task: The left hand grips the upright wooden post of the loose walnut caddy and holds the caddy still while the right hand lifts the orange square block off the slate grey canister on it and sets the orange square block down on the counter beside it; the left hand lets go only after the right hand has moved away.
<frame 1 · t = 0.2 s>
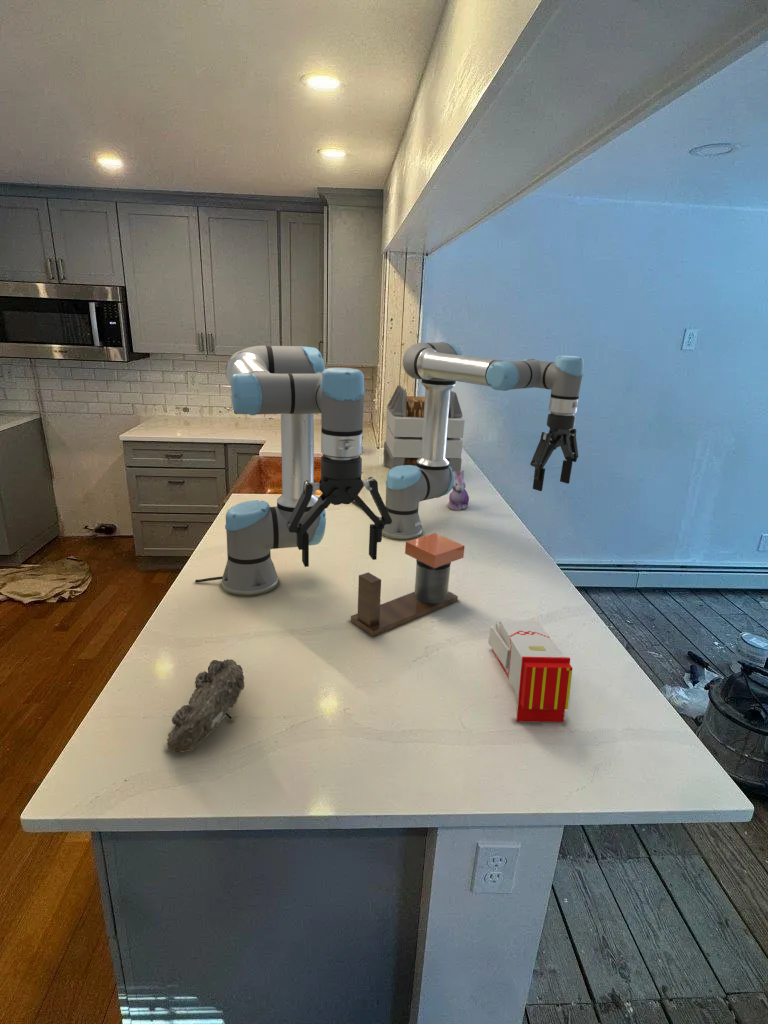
left hand: (339, 560, 111), 28 cm above the counter, fingers open, 13 cm apart
right hand: (551, 486, 165), 28 cm above the counter, fingers open, 13 cm apart
caddy: (406, 610, 149), on the counter, touching orange square block
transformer: (419, 473, 275), on the counter
toy: (521, 679, 123), on the counter
figurine: (458, 507, 230), on the counter
figurine character: (356, 451, 311), on the counter
orange square block: (433, 561, 151), point 12 cm above the counter, touching caddy
fossil: (212, 717, 108), on the counter
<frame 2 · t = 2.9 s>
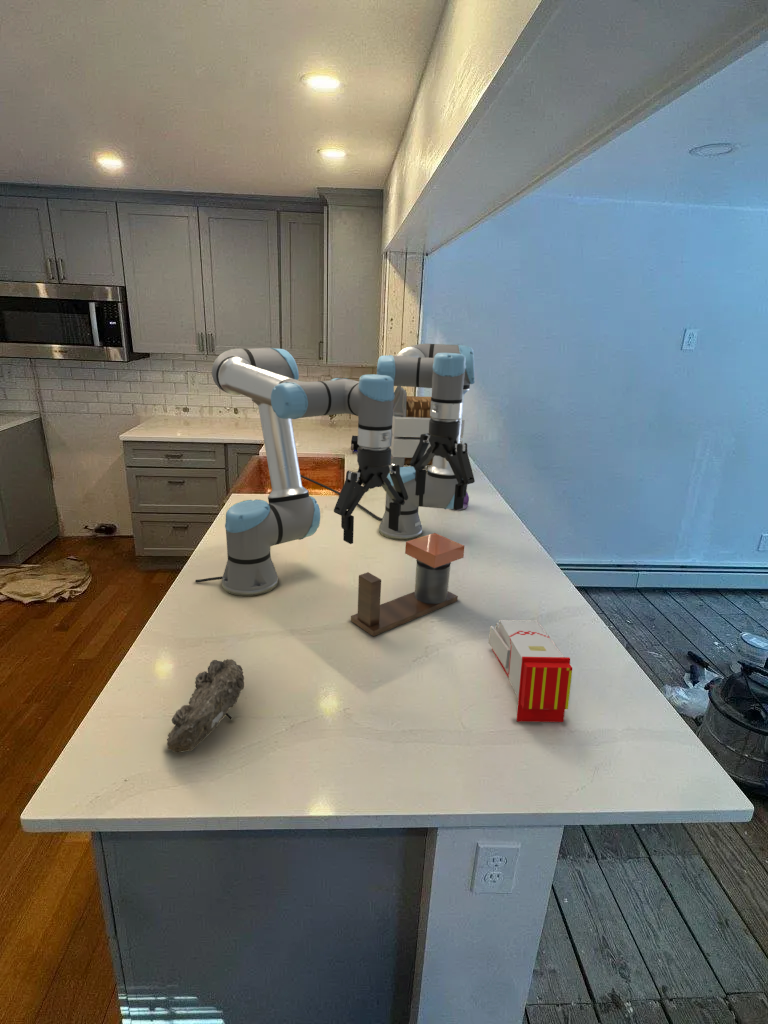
left hand: (371, 535, 133), 24 cm above the counter, fingers open, 13 cm apart
right hand: (438, 501, 145), 29 cm above the counter, fingers open, 13 cm apart
nothing on the counter moved.
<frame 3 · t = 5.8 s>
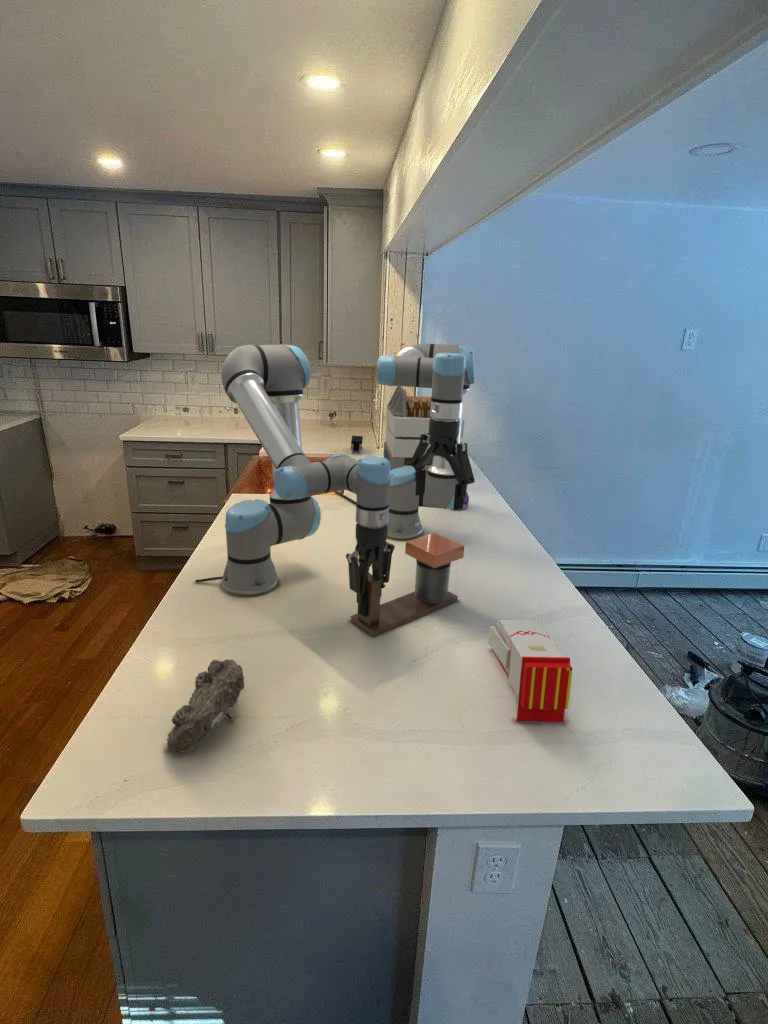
left hand: (368, 612, 140), 4 cm above the counter, fingers closed on caddy, 3 cm apart
right hand: (438, 501, 145), 29 cm above the counter, fingers open, 13 cm apart
caddy: (406, 610, 149), on the counter, touching orange square block, left hand
everything else where it was.
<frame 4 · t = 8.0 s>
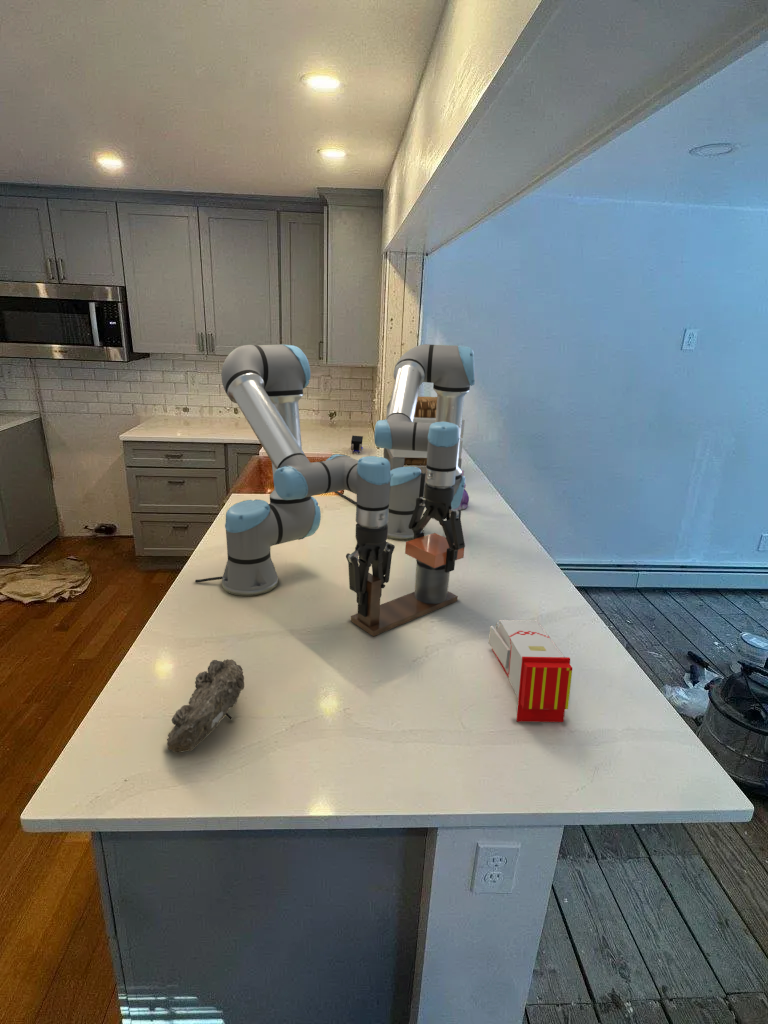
left hand: (368, 612, 140), 4 cm above the counter, fingers closed on caddy, 3 cm apart
right hand: (433, 563, 151), 11 cm above the counter, fingers closed on orange square block, 11 cm apart
caddy: (406, 610, 149), on the counter, touching orange square block, left hand
orange square block: (433, 561, 151), point 12 cm above the counter, touching caddy, right hand
everything else where it was.
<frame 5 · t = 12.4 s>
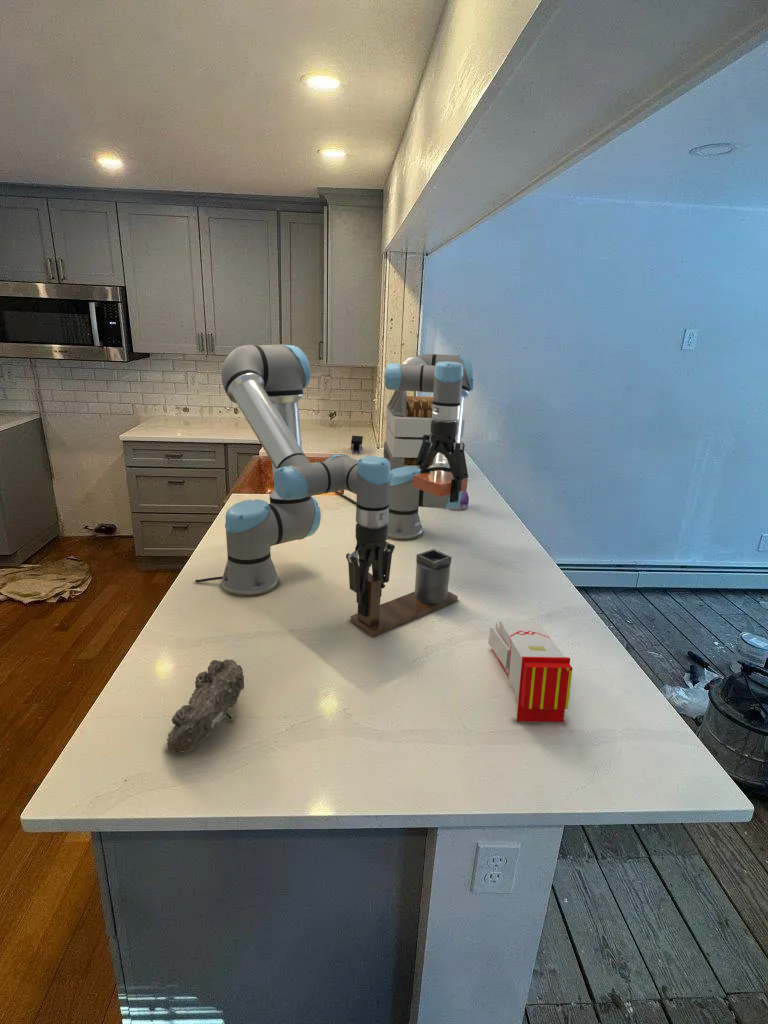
left hand: (368, 612, 140), 4 cm above the counter, fingers closed on caddy, 3 cm apart
right hand: (438, 495, 163), 25 cm above the counter, fingers closed on orange square block, 11 cm apart
caddy: (406, 610, 149), on the counter, touching left hand
orange square block: (439, 493, 163), point 25 cm above the counter, touching right hand
everything else where it was.
when the right hand's fingers open (3 cm above the counter, at t = 16.9 s): orange square block drops 3 cm, on the counter.
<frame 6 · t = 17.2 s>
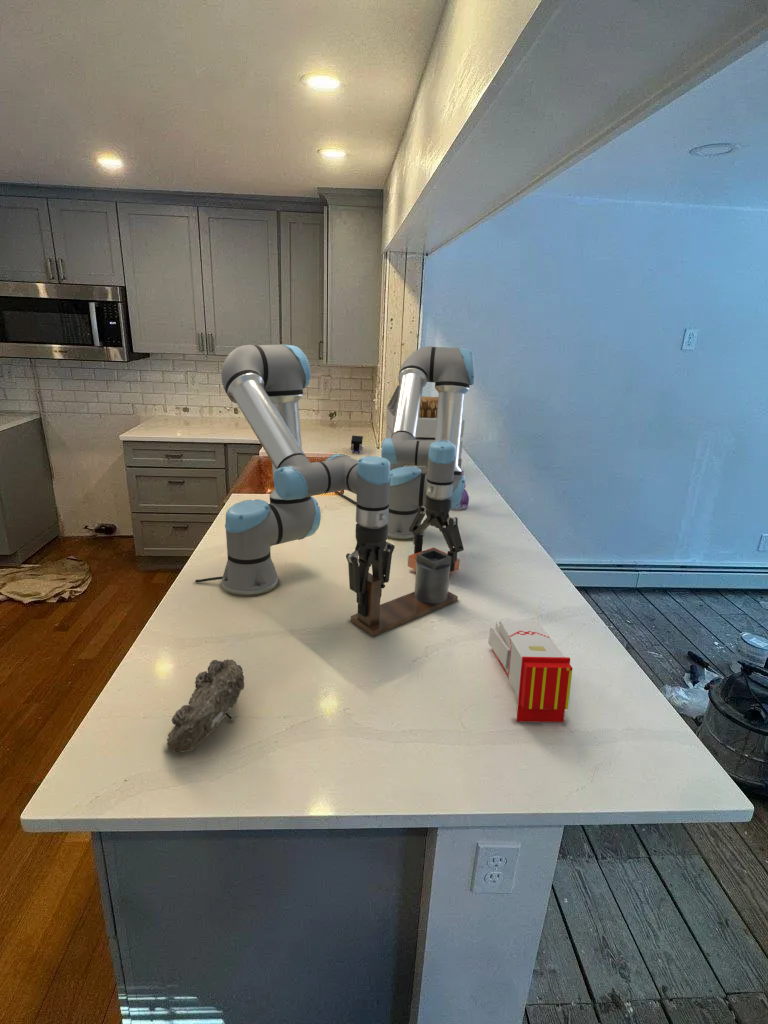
left hand: (368, 612, 140), 4 cm above the counter, fingers closed on caddy, 3 cm apart
right hand: (433, 563, 170), 3 cm above the counter, fingers open, 13 cm apart
caddy: (406, 610, 149), on the counter, touching left hand
orange square block: (432, 572, 171), on the counter
everything else where it was.
when the left hand's fingers open (4 cm above the counter, at t = 20.0 s): caddy stays where it is, on the counter.
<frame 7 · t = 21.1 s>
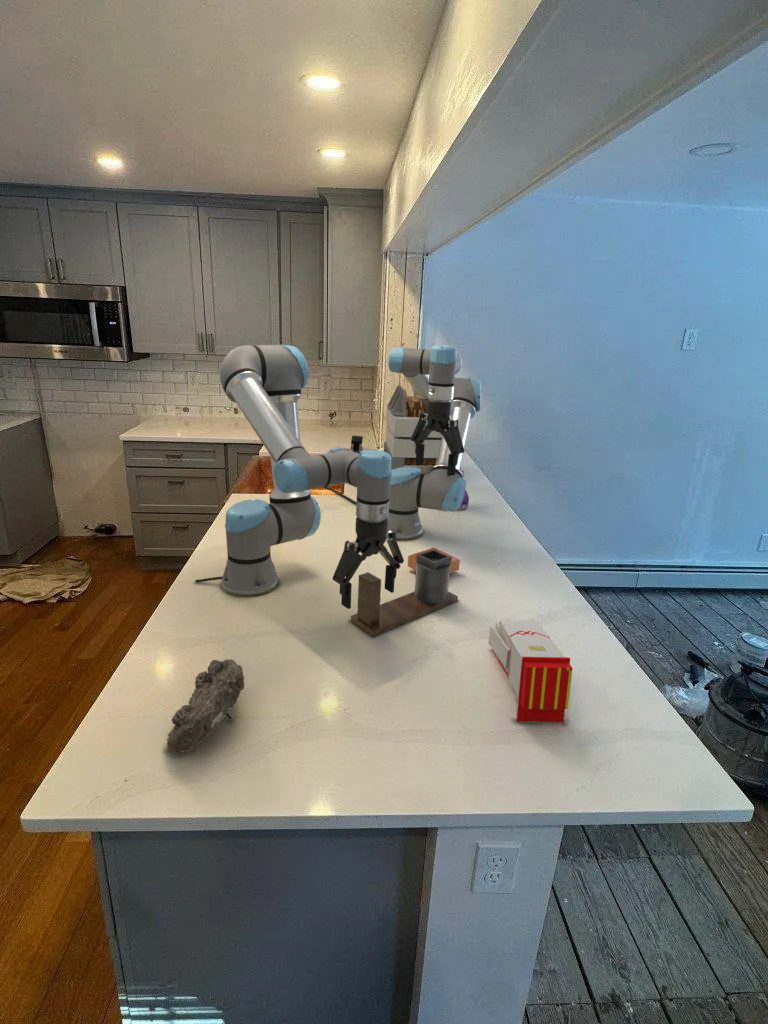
left hand: (368, 598, 139), 8 cm above the counter, fingers open, 13 cm apart
right hand: (434, 469, 174), 29 cm above the counter, fingers open, 13 cm apart
caddy: (406, 610, 149), on the counter
everything else where it was.
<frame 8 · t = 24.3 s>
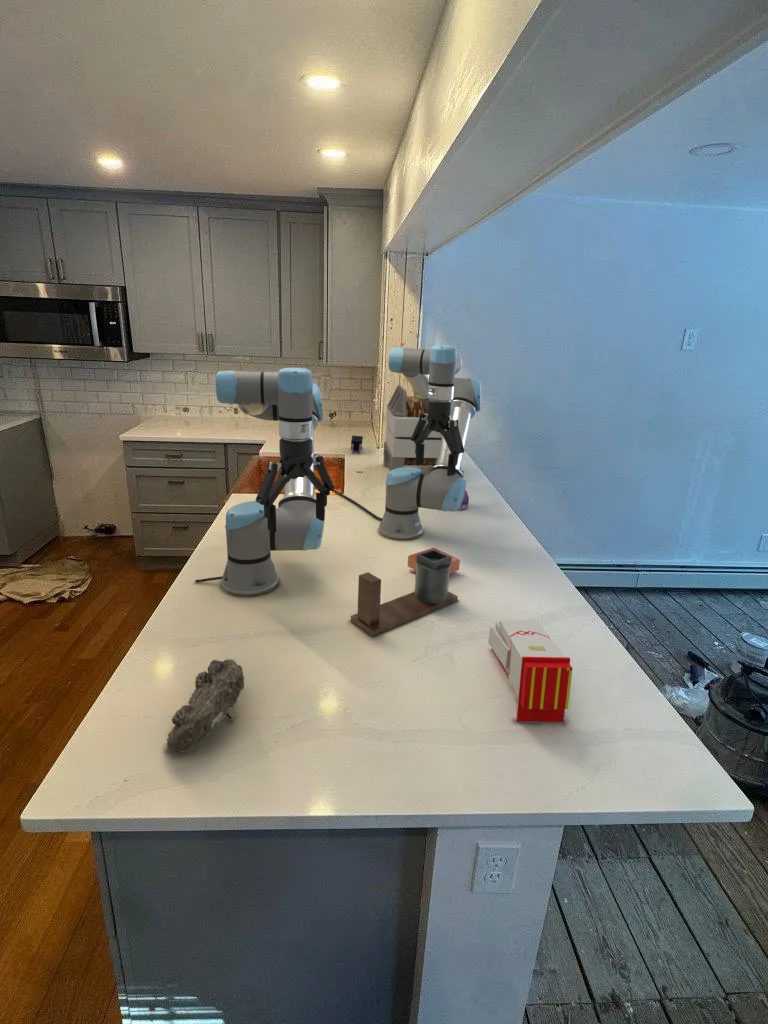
left hand: (296, 524, 137), 25 cm above the counter, fingers open, 13 cm apart
right hand: (434, 469, 174), 29 cm above the counter, fingers open, 13 cm apart
nothing on the counter moved.
at the end: orange square block inside the target area (0.0 cm from its centre), on the counter; caddy moved 0.0 cm from its start; the left hand is holding nothing; the right hand is holding nothing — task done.
